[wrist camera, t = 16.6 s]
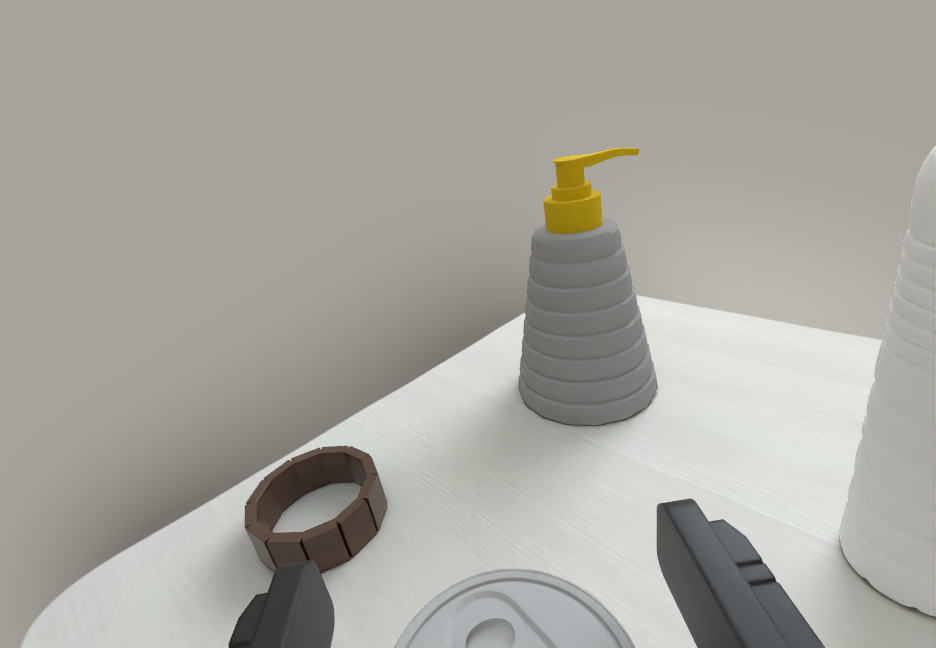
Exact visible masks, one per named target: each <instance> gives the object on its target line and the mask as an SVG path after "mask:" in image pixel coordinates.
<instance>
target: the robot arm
mask: <svg viewBox="0 0 936 648" xmlns="http://www.w3.org/2000/svg"><path fill="white" fill-rule="evenodd" d="M657 555H658V560H659V564H660V567H661V571H662V573H663V576H664V578H665V581H666V583H667V585H668V587H669V589H670V591H671V593H672V595H673V597H674V599H675V601H676V604H677V606H678V608H679V610H680V612H681V614H682V616H683V618H684V620H685V622H686V624H687V627H688V629H689V631H690V633H691V635H692V637H693V639H694V641H695V643H696V645H697V647H698V648H825V647H824V645H823V644H822V642H821V641H820V640H819V638H818V637H817V635H816V634H815V633H814V631H813V630H812V628H811V627H810V626H809V624H808V623H807V621H806V620H805V619H804V617H803V616H802V614H801V613H800V612H799V610H798V609H797V607H796V606H795V605H794V603H793V602H792V600H791V599H790V598H789V596H788V595H787V593H786V592H785V591H784V589H783V588H782V586H781V585H780V584H779V583H777V582H776V579H775V577H774V575H773V574H772V572H771V571H770V570H769V568H768V567H767V565H766V564H764V563H763V561H762V558H761V557H760V556H759V554H758V553H757V551H756V550H755V549H754V547H753V546H752V544H751V543H750V542H749V540H748V539H747V537H746V536H744V535H743V534H742V533H740V532H739V531H738V530H737V529H735V528H734V527H733V526H731V525H730V524H729V523H727V522H726V521H725V520H723V519H722V520H716V521H710V522H709V521H708V520H707V518H706V517H705V515H704V514H703V512H702V511H701V509H700V507H699V506H698V505H697V503H696V502H695V501H694V500H693V499H685V500H679V501H673V502H667V503H661V504H658V506H657ZM333 631H334V607H333V603H332V600H331V597H330V595H329V593H328V590H327V588H326V585H325V583H324V581H323V578H322V576H321V574H320V571H319V569H318V567H317V564H316V563H315V561H313V560H308V561H302V562H296V563H290V564H284V565H280V566H279V567H278V568H277V569H276V571H275V573H274V576H273V579H272V582H271V585H270V588H269V590H268V593H264V594H258V595H256V596H255V597H254V598H253V600H252V601H251V602H250V604H249V605H248V606H247V608H246V609H245V610H244V612H243V613H242V615H241V616H240V617H239V619H238V621H237V624H236V626H235V629H234V631H233V634H232V637H231V639H230V642H229V644H228V645H229V648H330V647H331V642H332V637H333Z"/></svg>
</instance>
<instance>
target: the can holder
mask: <svg viewBox="0 0 936 648" xmlns="http://www.w3.org/2000/svg"><path fill="white" fill-rule="evenodd" d="M291 460H292V461H290V460H288V461H286V462H285V463H284V464H282V465H281V466H279V467H278V468H277V469H275V470H274V471H273V472H271V473H270V474H269V475H267V476H266V477H264V480H262V481H261V482H260V483H259V485H258V486H257V488H256V489H255V491H254V492H253V494H252V495H251V496H250V498H249V499H248V501H247V502H246V504H247V505H245V529H246V531H247V533H248V535H249V537H250V539H251V541H252V543H253V545H254V547H255V549H256V551H257V553H258V555H259V557H260V559H261V561H262V562H263V563H265V564H266V565H267V566H269V567H270V568H271V569H272V570H274V571H276V569H277V568H278V567H279V566H280V565H284V564H290V563H296V562H302V561H308V560H313V561H315V563H316V564H317V567H318V569H319V571H320V573H321V572H324V571H326V570H328V569H330V568H332V567H334V566H337V565H339V564H341V563H343V562H345V561H348V560H350V556H349V555H351V556H352V557H353V556H355V555H356V554H357V553H358V552H359V551H360V550H361V549H362V548H363V547H364V546H365V545H366V544H367V543H368V542H369V541H370V540H371V539H372V538H373V537H374V536H375V535H376V533H377V532H376V531H379V529H380V526H381V523H382V520H383V517H384V514H385V511H386V508H387V501H386V498H385V495H384V491H383V488H382V485H381V482H380V479H379V475H378V472H377V470H376V467H375V465H374V462H373V459H372V457H371V456H370V455H369V454H367V453H365V452H363V451H361V450H358V449H356V448H354V447H348V446H335V447H322V449H321V450H320V448H317V449H315V450H312V451H309V452H307V453H304V454H302V455H299V456H296V457H294V458H291ZM336 482H356V483H358V484H360V485H362V488H361V491H360V493H359V495H358V498H357V499H356V500H355V501H354V502H353V503H351V504H350V505H349V506H348V507H347V508H346V509H345V510H344V511H343V512H341V513H340V514H339V515H338V516H337V517H336V518H335V519H333V520H330V521H328V522H326V523H323V524H321V525H318V526H316V527H314V528H311V529H309V530H307V531H304V532H289V533H273V532H272V529H273V528H274V526H275V524H276V522H277V521H278V519H279V517H280V516H281V514H282V512H283V511H284V510H285V509H286V508H287V507H289V506H290V505H291V504H292V503H294V502H295V501H296V500H297V499H299V498H300V497H301V496H302V495H304V494H305V493H307V492H309V491H312V490H314V489H317V488H319V487H322V486H324V485H327V484H329V483H336Z"/></svg>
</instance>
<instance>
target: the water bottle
mask: <svg viewBox="0 0 936 648" xmlns="http://www.w3.org/2000/svg"><path fill="white" fill-rule="evenodd" d="M908 227H909V229H908V230H907V232H906V234H905V237H904V249H903V250H902V252H901V255H900V261H899V263H900V267H899V268H898V270H897V273H896V285H895V286H894V289H893V292H892V302H891V304H890V306H889V310H888V319H887V321H886V324H885V330H884V332H885V335H884V337H883V339H882V342H881V346H880V350H879V353H878V357H877V361H876V366H875V373H874V377H875V381H874V382H873V385H872V387H871V390H870V394H869V398H868V404H867V415H866V417H865V419H864V422H863V426H862V439H861V440H860V443H859V446H858V450H857V454H856V459H855V466H854V474H853V476H852V479H851V482H850V486H849V492H848V501H847V503H846V506H845V509H844V513H843V518H842V523H841V527H840V535H839V537H840V543H841V545H842V550H843V553H844V555H845V557H846V559H847V560H848V562H849V563H850V564H851V566H852V567H853V568H854V570H855V571H856V572H857V573H858V574H859V575H860V576H862V577H863V578H866V579H867V580H868V581H869V583H870V584H871V585H872V586H873V587H874V588H875V589H877V590H878V591H880V592H881V593H883V594H884V595H886V596H887V597H889V598H891V599H893V600H894V601H896V602H898V603H900V604H902V605H904V606H907V607H915V608H917V609H918V610H919V611H921V612H923V613H925V614H928V615H931V616H934V617H936V146H935V147H934V148H933V149H932V151H931V152H930V153H929V155H928V156H927V158H926V159H925V161H924V163H923V165H922V166H921V169H920V171H919V173H918V175H917V178H916V181H915V185H914V189H913V194H912V199H911V206H910V212H909V218H908Z"/></svg>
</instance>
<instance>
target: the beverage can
mask: <svg viewBox="0 0 936 648" xmlns="http://www.w3.org/2000/svg"><path fill="white" fill-rule="evenodd" d="M394 648H635V646H634V644H633V643H632V641H631V639H630V637H629V635H628V634H627V632H626V631H625V629H624V628H623V627H622V625H621V624H620V623H619V622H618V620H617V619H616V618H615V617H614V616H613V614H612V613H611V612H610V611H609V610H608V609H607V608H606V607H605V606H604V605H603V604H602V603H601V602H599V601H598V600H597V599H596V598H595V597H593V596H592V595H591V594H589V593H588V592H587V591H585V590H584V589H582V588H581V587H579V586H577V585H575V584H573V583H572V582H570V581H568V580H565V579H563V578H561V577H558V576H555V575H552V574H549V573H545V572H541V571H536V570H530V569H499V570H493V571H488V572H483V573H480V574H477V575H474V576H471V577H468V578H466V579H464V580H462V581H460V582H458V583H456V584H454V585H452V586H450V587H449V588H447V589H446V590H444V591H443V592H441V593H440V594H438V595H437V596H436V597H434V598H433V599H432V600H431V601H430V602H429V603H428V604H427V605H425V606H424V608H423V609H422V610H421V611H420V612H419V613H418V614H417V615H416V616H415V617H414V618H413V620H412V621H411V622H410V623H409V625H408V626H407V628H406V629H405V630H404V632H403V633H402V635H401V637H400V638H399V640H398V642H397V643H396V645H395V647H394Z"/></svg>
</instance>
